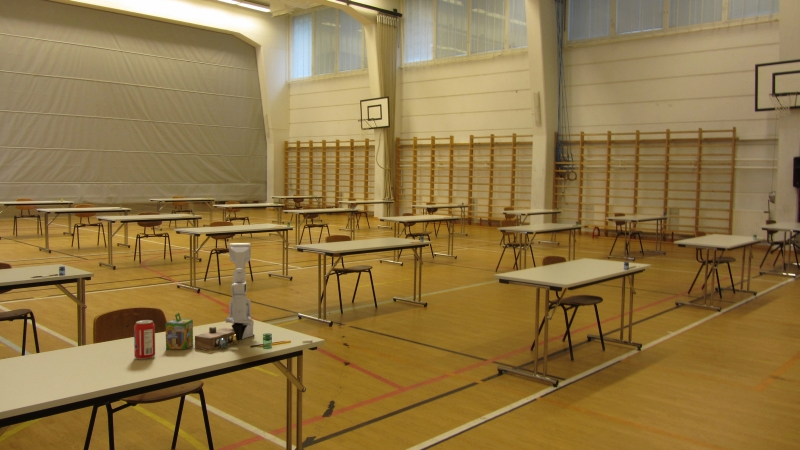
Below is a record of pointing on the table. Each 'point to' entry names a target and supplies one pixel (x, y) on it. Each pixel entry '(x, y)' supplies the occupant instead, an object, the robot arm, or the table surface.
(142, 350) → the soda can
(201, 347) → the mount
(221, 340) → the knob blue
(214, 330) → the dial
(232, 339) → the knob mustard
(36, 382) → the table surface
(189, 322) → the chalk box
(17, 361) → the table surface
